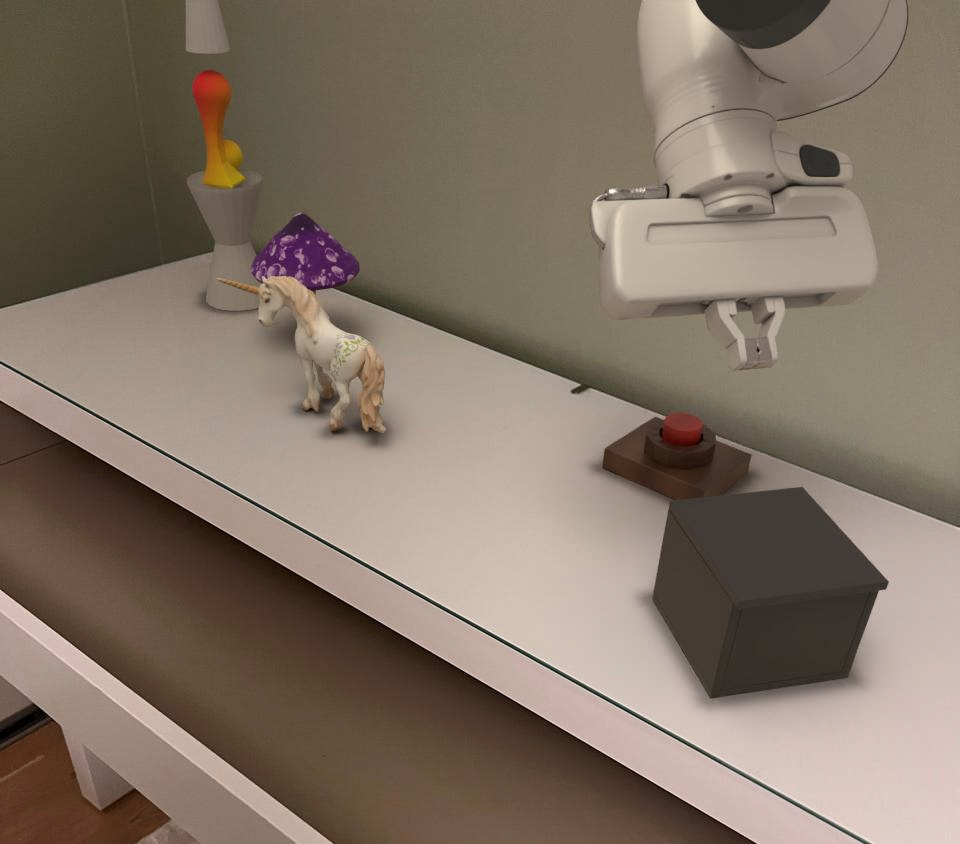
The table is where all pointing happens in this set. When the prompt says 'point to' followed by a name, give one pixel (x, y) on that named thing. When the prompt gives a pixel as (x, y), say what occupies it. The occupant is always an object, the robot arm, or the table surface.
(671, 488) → the console
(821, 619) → the dark grey cubic box
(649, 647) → the table surface
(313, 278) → the decorative mushroom
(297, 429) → the table surface
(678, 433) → the button
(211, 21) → the lava lamp
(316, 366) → the unicorn figurine
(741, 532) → the lid
